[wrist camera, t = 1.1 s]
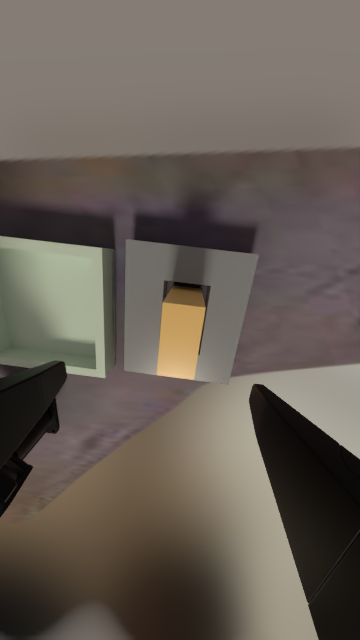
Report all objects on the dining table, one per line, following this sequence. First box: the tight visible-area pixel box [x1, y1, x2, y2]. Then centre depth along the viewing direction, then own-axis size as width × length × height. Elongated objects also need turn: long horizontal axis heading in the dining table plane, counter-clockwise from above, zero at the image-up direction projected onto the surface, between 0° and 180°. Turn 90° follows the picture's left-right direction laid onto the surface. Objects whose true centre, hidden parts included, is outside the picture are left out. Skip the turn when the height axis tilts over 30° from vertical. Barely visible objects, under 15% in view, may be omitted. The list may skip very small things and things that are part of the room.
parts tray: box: [0, 236, 115, 378], centre depth 21 cm, size 14×14×3 cm
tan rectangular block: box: [157, 285, 206, 380], centre depth 18 cm, size 6×3×8 cm, turn 174°
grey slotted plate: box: [124, 239, 259, 384], centre depth 20 cm, size 14×12×2 cm
